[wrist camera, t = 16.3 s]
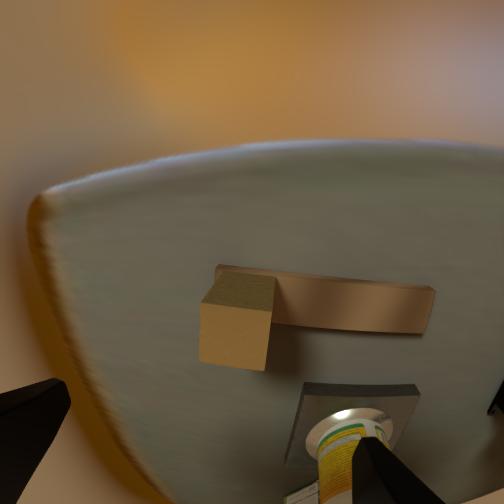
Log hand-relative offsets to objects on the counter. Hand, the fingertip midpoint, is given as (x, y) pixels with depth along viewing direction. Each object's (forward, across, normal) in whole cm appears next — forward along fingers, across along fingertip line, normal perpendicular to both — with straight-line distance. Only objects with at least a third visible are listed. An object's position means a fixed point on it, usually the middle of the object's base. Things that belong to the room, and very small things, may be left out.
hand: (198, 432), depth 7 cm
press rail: (+12, -5, 0) cm, 13 cm away
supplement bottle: (+10, -9, +11) cm, 18 cm away
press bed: (+12, -9, +11) cm, 19 cm away
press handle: (+11, 0, 0) cm, 11 cm away
